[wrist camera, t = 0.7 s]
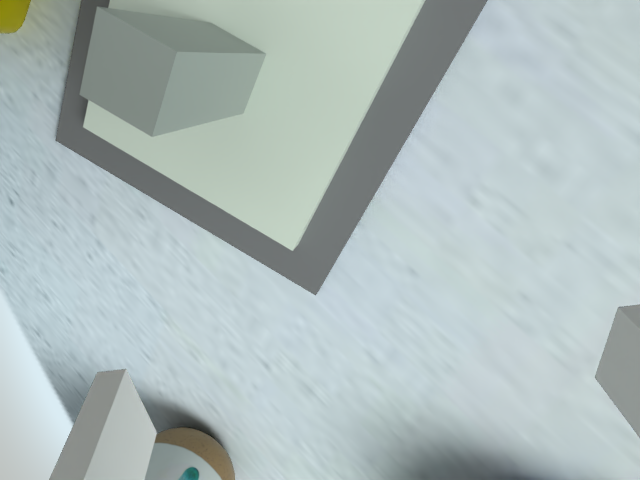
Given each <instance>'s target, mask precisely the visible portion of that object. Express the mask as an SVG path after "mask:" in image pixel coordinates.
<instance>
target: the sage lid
mask: <svg viewBox="0 0 640 480" xmlns="http://www.w3.org/2000/svg"><path fill="white" fill-rule="evenodd" d="M424 2H425V0H110V2H109V7H108V8H105V7H98V6H97V10H96V15H95V20H94V25H93V30H92V35H91V39H90V44H89V49H88V54H87V59H86V64H85V69H84V74H83V79H82V84H81V89H80V94H79V95H81V96H83V97H84V98H86V99H88V100H89V101H88V106H87V110H86V115H85V120H84V124H83V127H84V128H85V129H87V130H89V131H90V132H92V133H94V134H95V135H97V136H99V137H100V138H102V139H104V140H106V141H107V142H109V143H111V144H112V145H114V146H116V147H117V148H119V149H121V150H122V151H124V152H126V153H128V154H129V155H131V156H133V157H134V158H136V159H138V160H139V161H141V162H143V163H144V164H146V165H148V166H150V167H151V168H153V169H155V170H156V171H158V172H160V173H161V174H163V175H165V176H166V177H168V178H170V179H172V180H173V181H175V182H177V183H178V184H180V185H182V186H183V187H185V188H187V189H188V190H190V191H192V192H194V193H195V194H197V195H199V196H200V197H202V198H204V199H205V200H207V201H209V202H210V203H212V204H214V205H216V206H217V207H219V208H221V209H222V210H224V211H226V212H227V213H229V214H231V215H232V216H234V217H236V218H238V219H239V220H241V221H243V222H244V223H246V224H248V225H249V226H251V227H253V228H254V229H256V230H258V231H260V232H261V233H263V234H265V235H266V236H268V237H270V238H271V239H273V240H275V241H277V242H278V243H280V244H282V245H283V246H285V247H287V248H288V249H290V250H292V251H293V250H294V249H295V248H296V246H297V245H298V244H299V242H300V240H301V238H302V236H303V234H304V232H305V230H306V228H307V226H308V225H309V223H310V221H311V219H312V217H313V215H314V213H315V211H316V209H317V207H318V205H319V203H320V201H321V200H322V198H323V196H324V194H325V192H326V190H327V188H328V186H329V184H330V182H331V180H332V178H333V177H334V175H335V173H336V171H337V169H338V167H339V165H340V163H341V161H342V159H343V157H344V155H345V154H346V152H347V150H348V148H349V146H350V144H351V142H352V140H353V138H354V136H355V134H356V132H357V131H358V129H359V127H360V125H361V123H362V121H363V119H364V117H365V115H366V113H367V111H368V109H369V108H370V106H371V104H372V102H373V100H374V98H375V96H376V94H377V92H378V90H379V88H380V86H381V84H382V83H383V81H384V79H385V77H386V75H387V73H388V71H389V69H390V67H391V65H392V63H393V61H394V60H395V58H396V56H397V54H398V52H399V50H400V48H401V46H402V44H403V42H404V40H405V38H406V37H407V35H408V33H409V31H410V29H411V27H412V25H413V23H414V21H415V19H416V17H417V15H418V14H419V12H420V10H421V8H422V6H423V4H424Z"/></svg>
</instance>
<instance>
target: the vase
mask: <svg viewBox="0 0 640 480" xmlns="http://www.w3.org/2000/svg"><path fill="white" fill-rule="evenodd" d="M145 480H235V473H234V468H233V465H232V461H231V459H230V457H229V455H228V454H227V452H226V451H225V450H224V448H223V447H222V446H221V445H220V444H219V443H218V442H217V441H216V440H215V439H213V438H212V437H211V436H209V435H207V434H205V433H203V432H201V431H198V430H196V429H192V428H185V427H179V428H172V429H168V430H165V431H162V432H160V433H158V434H156V438H155V442H154V446H153V449H152V453H151V457H150V461H149V464H148V468H147V472H146V476H145Z"/></svg>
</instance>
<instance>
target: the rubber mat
mask: <svg viewBox="0 0 640 480" xmlns="http://www.w3.org/2000/svg"><path fill="white" fill-rule="evenodd" d="M109 2H110V0H82V1H81V6H80V11H79V17H78V22H77V28H76V33H75V38H74V44H73V49H72V55H71V60H70V66H69V71H68V76H67V82H66V87H65V93H64V98H63V103H62V109H61V114H60V120H59V125H58V130H57V136H56V141H57V142H59V143H61V144H62V145H64V146H66V147H67V148H69V149H71V150H73V151H74V152H76V153H78V154H79V155H81V156H83V157H84V158H86V159H88V160H89V161H91V162H93V163H94V164H96V165H98V166H99V167H101V168H103V169H104V170H106V171H108V172H109V173H111V174H113V175H115V176H116V177H118V178H120V179H121V180H123V181H125V182H126V183H128V184H130V185H131V186H133V187H135V188H136V189H138V190H140V191H141V192H143V193H145V194H146V195H148V196H150V197H151V198H153V199H155V200H156V201H158V202H160V203H162V204H163V205H165V206H167V207H168V208H170V209H172V210H173V211H175V212H177V213H178V214H180V215H182V216H183V217H185V218H187V219H188V220H190V221H192V222H193V223H195V224H197V225H198V226H200V227H202V228H203V229H205V230H207V231H209V232H210V233H212V234H214V235H215V236H217V237H219V238H220V239H222V240H224V241H225V242H227V243H229V244H230V245H232V246H234V247H235V248H237V249H239V250H240V251H242V252H244V253H245V254H247V255H249V256H251V257H252V258H254V259H256V260H257V261H259V262H261V263H262V264H264V265H266V266H267V267H269V268H271V269H272V270H274V271H276V272H277V273H279V274H281V275H282V276H284V277H286V278H287V279H289V280H291V281H292V282H294V283H296V284H298V285H299V286H301V287H303V288H304V289H306V290H308V291H309V292H311V293H313V294H314V295H316V294H317V292H318V291H319V289H320V287H321V286H322V284H323V282H324V280H325V279H326V277H327V275H328V274H329V272H330V270H331V268H332V267H333V265H334V263H335V261H336V260H337V258H338V256H339V255H340V253H341V251H342V249H343V248H344V246H345V244H346V243H347V241H348V239H349V237H350V236H351V234H352V232H353V231H354V229H355V227H356V225H357V224H358V222H359V220H360V219H361V217H362V215H363V213H364V212H365V210H366V208H367V207H368V205H369V203H370V201H371V200H372V198H373V196H374V194H375V193H376V191H377V189H378V188H379V186H380V184H381V182H382V181H383V179H384V177H385V176H386V174H387V172H388V170H389V169H390V167H391V165H392V164H393V162H394V160H395V158H396V157H397V155H398V153H399V152H400V150H401V148H402V146H403V145H404V143H405V141H406V140H407V138H408V136H409V134H410V133H411V131H412V129H413V128H414V126H415V124H416V122H417V121H418V119H419V117H420V115H421V114H422V112H423V110H424V109H425V107H426V105H427V103H428V102H429V100H430V98H431V97H432V95H433V93H434V91H435V90H436V88H437V86H438V85H439V83H440V81H441V79H442V78H443V76H444V74H445V73H446V71H447V69H448V67H449V66H450V64H451V62H452V61H453V59H454V57H455V55H456V54H457V52H458V50H459V48H460V47H461V45H462V43H463V42H464V40H465V38H466V36H467V35H468V33H469V31H470V30H471V28H472V26H473V24H474V23H475V21H476V19H477V18H478V16H479V14H480V12H481V11H482V9H483V7H484V6H485V4H486V2H487V0H425V2H424V4H423V6H422V8H421V10H420V12H419V14H418V15H417V17H416V19H415V21H414V23H413V25H412V27H411V29H410V31H409V33H408V35H407V37H406V38H405V40H404V42H403V44H402V46H401V48H400V50H399V52H398V54H397V56H396V58H395V60H394V61H393V63H392V65H391V67H390V69H389V71H388V73H387V75H386V77H385V79H384V81H383V83H382V84H381V86H380V88H379V90H378V92H377V94H376V96H375V98H374V100H373V102H372V104H371V106H370V108H369V109H368V111H367V113H366V115H365V117H364V119H363V121H362V123H361V125H360V127H359V129H358V131H357V132H356V134H355V136H354V138H353V140H352V142H351V144H350V146H349V148H348V150H347V152H346V154H345V155H344V157H343V159H342V161H341V163H340V165H339V167H338V169H337V171H336V173H335V175H334V177H333V178H332V180H331V182H330V184H329V186H328V188H327V190H326V192H325V194H324V196H323V198H322V200H321V201H320V203H319V205H318V207H317V209H316V211H315V213H314V215H313V217H312V219H311V221H310V223H309V225H308V226H307V228H306V230H305V232H304V234H303V236H302V238H301V240H300V242H299V244H298V245H297V246H296V248H295V249H294V250H293V251H292V250H290V249H288V248H287V247H285V246H283V245H282V244H280V243H278V242H277V241H275V240H273V239H271V238H270V237H268V236H266V235H265V234H263V233H261V232H260V231H258V230H256V229H254V228H253V227H251V226H249V225H248V224H246V223H244V222H243V221H241V220H239V219H238V218H236V217H234V216H232V215H231V214H229V213H227V212H226V211H224V210H222V209H221V208H219V207H217V206H216V205H214V204H212V203H210V202H209V201H207V200H205V199H204V198H202V197H200V196H199V195H197V194H195V193H194V192H192V191H190V190H188V189H187V188H185V187H183V186H182V185H180V184H178V183H177V182H175V181H173V180H172V179H170V178H168V177H166V176H165V175H163V174H161V173H160V172H158V171H156V170H155V169H153V168H151V167H150V166H148V165H146V164H144V163H143V162H141V161H139V160H138V159H136V158H134V157H133V156H131V155H129V154H128V153H126V152H124V151H122V150H121V149H119V148H117V147H116V146H114V145H112V144H111V143H109V142H107V141H106V140H104V139H102V138H100V137H99V136H97V135H95V134H94V133H92V132H90V131H89V130H87V129H85V128H84V127H83V124H84V120H85V115H86V110H87V106H88V101H89V100H88V99H86V98H84V97H83V96H81V95H79V94H80V89H81V84H82V79H83V74H84V69H85V64H86V59H87V54H88V49H89V44H90V39H91V35H92V30H93V25H94V20H95V15H96V10H97V6H98V7H105V8H108V7H109Z"/></svg>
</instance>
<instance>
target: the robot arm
mask: <svg viewBox="0 0 640 480" xmlns="http://www.w3.org/2000/svg"><path fill="white" fill-rule="evenodd" d="M595 379H596V380H597V381H598V383H599V384H600V385H601V387H602V388H603V389H604V391H605V392H606V393H607V395H608V396H609V397H610V399H611V400H612V401H613V403H614V404H615V405H616V407H617V408H618V409H619V411H620V412H621V413H622V415H623V416H624V417H625V419H626V420H627V421H628V423H629V424H630V425H631V427H632V428H633V430H634V431H635V432H636V434H637V435H638V436H639V438H640V305H632V306H624V307H618V309H617V312H616V315H615V318H614V321H613V324H612V327H611V330H610V333H609V336H608V339H607V342H606V345H605V348H604V351H603V354H602V357H601V360H600V363H599V366H598V369H597V372H596V375H595ZM156 434H157V432H156V430H155V428H154V426H153V423H152V421H151V419H150V417H149V415H148V413H147V411H146V409H145V407H144V405H143V403H142V401H141V399H140V397H139V395H138V392H137V390H136V388H135V386H134V384H133V382H132V380H131V378H130V376H129V374H128V372H127V370H126V369H121V370H113V371H105V372H97V374H96V376H95V378H94V381H93V383H92V385H91V387H90V390H89V392H88V394H87V396H86V399H85V401H84V403H83V405H82V407H81V410H80V412H79V414H78V416H77V419H76V421H75V423H74V425H73V428H72V430H71V432H70V434H69V436H68V439H67V441H66V443H65V445H64V448H63V450H62V452H61V454H60V457H59V459H58V461H57V464H56V466H55V468H54V470H53V472H52V474H51V477H50V479H49V480H145V476H146V472H147V468H148V464H149V461H150V457H151V453H152V449H153V446H154V442H155V438H156Z"/></svg>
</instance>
